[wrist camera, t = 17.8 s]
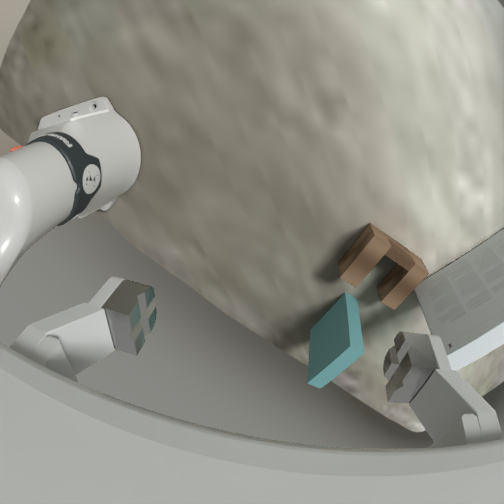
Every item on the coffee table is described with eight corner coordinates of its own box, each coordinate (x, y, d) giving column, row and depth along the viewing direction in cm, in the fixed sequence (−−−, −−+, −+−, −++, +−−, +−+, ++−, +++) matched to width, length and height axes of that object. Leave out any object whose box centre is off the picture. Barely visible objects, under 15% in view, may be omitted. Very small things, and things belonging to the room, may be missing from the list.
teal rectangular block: (321, 335, 55) (320, 388, 44) (310, 329, 54) (307, 383, 44) (357, 299, 50) (364, 352, 39) (345, 292, 49) (350, 346, 39)
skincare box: (422, 306, 48) (446, 377, 35) (411, 285, 47) (436, 357, 33) (517, 246, 39) (564, 302, 25) (511, 221, 37) (564, 275, 24)
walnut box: (389, 294, 48) (394, 310, 45) (338, 263, 47) (339, 277, 43) (421, 259, 44) (428, 273, 41) (369, 222, 43) (374, 235, 39)
